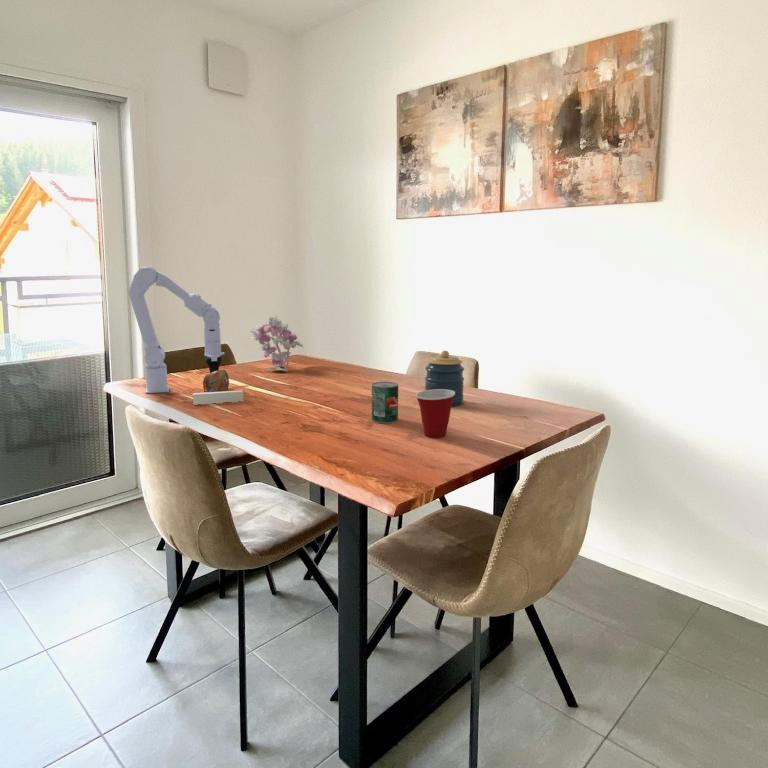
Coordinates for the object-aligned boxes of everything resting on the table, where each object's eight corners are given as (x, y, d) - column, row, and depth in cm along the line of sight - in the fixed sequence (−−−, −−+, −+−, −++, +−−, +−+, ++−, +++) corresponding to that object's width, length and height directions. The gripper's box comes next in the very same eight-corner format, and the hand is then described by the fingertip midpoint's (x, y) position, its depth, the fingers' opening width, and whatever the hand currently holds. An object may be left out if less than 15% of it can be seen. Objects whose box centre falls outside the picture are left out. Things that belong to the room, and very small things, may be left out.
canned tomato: (372, 416, 185) (372, 381, 183) (398, 417, 185) (398, 381, 183) (370, 423, 178) (370, 386, 176) (397, 423, 177) (398, 386, 175)
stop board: (193, 403, 201) (192, 393, 200) (242, 400, 206) (242, 390, 205) (193, 404, 199) (192, 394, 198) (243, 401, 204) (242, 391, 203)
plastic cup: (412, 430, 171) (412, 388, 169) (450, 429, 172) (451, 387, 170) (417, 441, 160) (418, 396, 158) (457, 440, 161) (459, 396, 159)
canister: (419, 405, 200) (420, 352, 197) (430, 397, 212) (431, 347, 209) (458, 408, 196) (459, 354, 193) (467, 400, 208) (468, 349, 205)
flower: (321, 364, 268) (301, 312, 270) (293, 367, 247) (272, 311, 249) (285, 381, 276) (267, 330, 278) (256, 385, 255) (236, 330, 257)
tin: (210, 400, 207) (209, 375, 205) (202, 399, 207) (200, 375, 206) (230, 391, 221) (229, 368, 219) (222, 390, 222) (221, 367, 220)
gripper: (225, 343, 217) (226, 380, 219) (222, 338, 230) (224, 373, 233) (204, 343, 215) (206, 381, 217) (203, 338, 228) (205, 374, 231)
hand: (214, 377), depth 225 cm, fingers closed
